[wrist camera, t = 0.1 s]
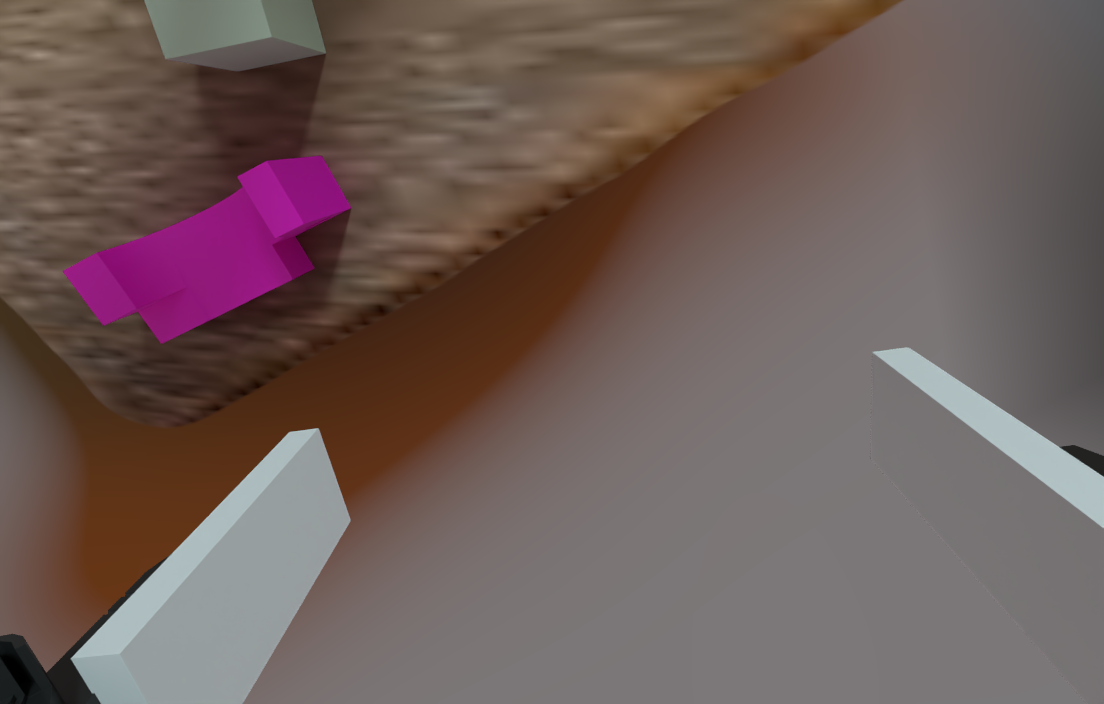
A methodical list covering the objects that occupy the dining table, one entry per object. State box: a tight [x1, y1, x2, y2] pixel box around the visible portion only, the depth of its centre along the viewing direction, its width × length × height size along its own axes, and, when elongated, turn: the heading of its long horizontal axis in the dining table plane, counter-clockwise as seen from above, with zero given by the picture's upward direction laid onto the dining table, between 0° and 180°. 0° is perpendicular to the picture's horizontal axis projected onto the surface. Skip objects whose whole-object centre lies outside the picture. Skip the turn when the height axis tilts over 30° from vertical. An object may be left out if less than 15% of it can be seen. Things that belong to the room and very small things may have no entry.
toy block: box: [63, 156, 351, 344], centre depth 38 cm, size 15×6×8 cm, turn 115°
